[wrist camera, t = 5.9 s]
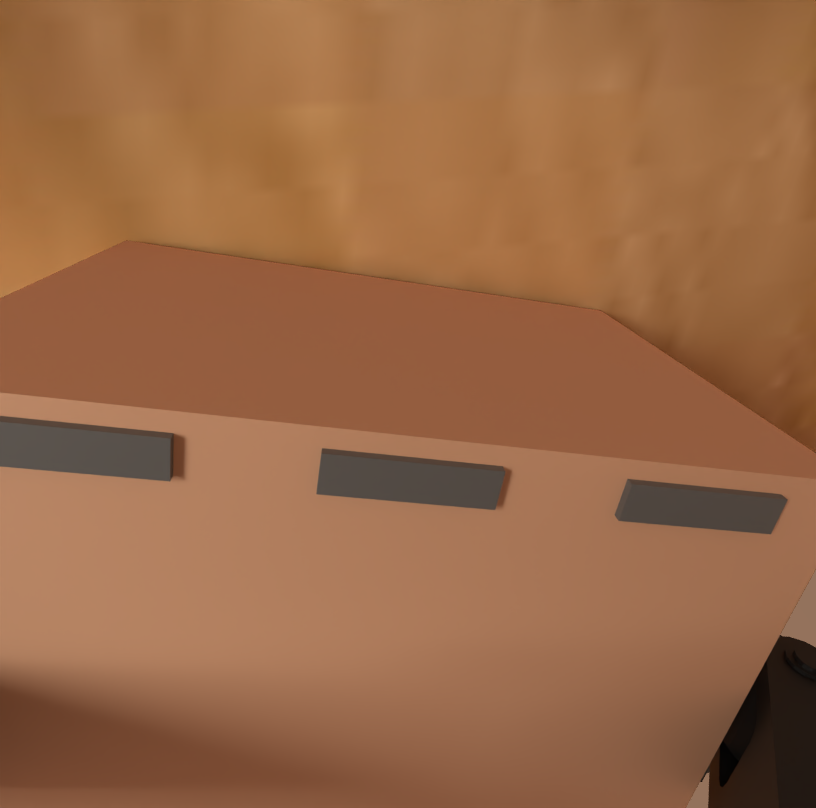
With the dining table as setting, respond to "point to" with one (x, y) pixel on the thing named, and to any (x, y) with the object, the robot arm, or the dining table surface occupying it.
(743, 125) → the dining table surface
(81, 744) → the salmon pink box
